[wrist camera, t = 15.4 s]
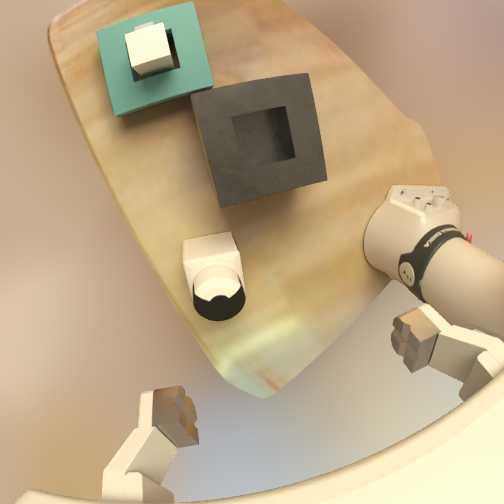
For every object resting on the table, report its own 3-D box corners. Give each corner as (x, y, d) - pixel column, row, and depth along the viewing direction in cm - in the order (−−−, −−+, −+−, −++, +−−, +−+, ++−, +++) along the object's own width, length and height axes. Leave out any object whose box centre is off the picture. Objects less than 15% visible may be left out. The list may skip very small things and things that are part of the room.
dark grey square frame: (279, 83, 34) (308, 72, 25) (296, 165, 39) (327, 180, 31) (190, 101, 33) (190, 94, 24) (212, 187, 38) (220, 208, 30)
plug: (167, 38, 28) (161, 16, 20) (174, 69, 30) (170, 54, 23) (137, 48, 28) (123, 28, 20) (144, 79, 30) (131, 66, 22)
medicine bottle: (238, 272, 45) (254, 321, 34) (192, 281, 44) (196, 333, 33) (231, 230, 42) (247, 270, 31) (182, 239, 41) (181, 283, 30)
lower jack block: (192, 12, 27) (193, 1, 23) (211, 89, 33) (213, 85, 29) (104, 39, 26) (96, 31, 22) (122, 116, 32) (114, 116, 28)
